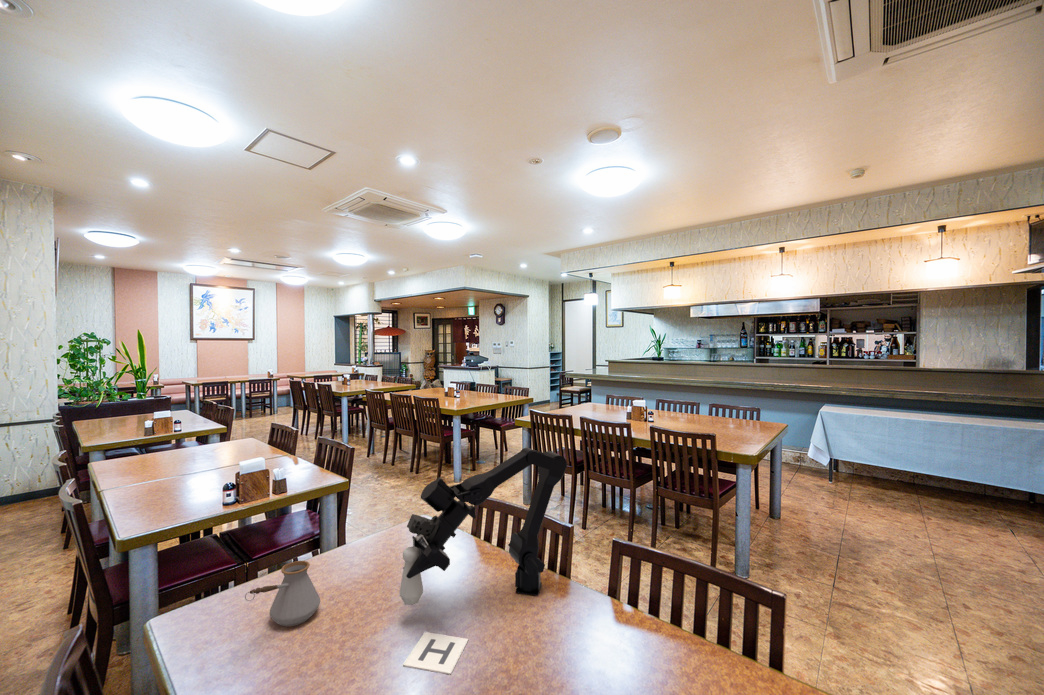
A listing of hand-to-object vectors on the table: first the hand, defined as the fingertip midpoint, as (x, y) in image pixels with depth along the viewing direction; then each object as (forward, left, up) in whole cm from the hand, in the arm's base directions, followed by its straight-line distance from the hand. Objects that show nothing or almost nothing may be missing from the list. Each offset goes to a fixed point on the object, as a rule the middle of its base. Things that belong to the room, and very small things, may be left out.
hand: (405, 573), depth 108 cm
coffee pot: (+28, +9, -12) cm, 32 cm away
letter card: (-12, +8, -12) cm, 19 cm away
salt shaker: (-1, -1, -7) cm, 7 cm away
